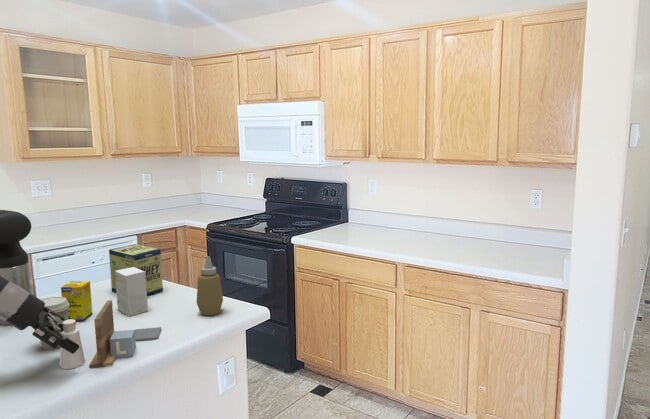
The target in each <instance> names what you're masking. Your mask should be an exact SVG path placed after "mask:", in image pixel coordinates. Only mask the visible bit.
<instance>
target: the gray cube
mask: <svg viewBox="0 0 650 419" xmlns="http://www.w3.org/2000/svg"><path fill="white" fill-rule="evenodd" d="M136 342H137V341H136V339H135V329H126V330H125V329H124V330H114V333H113V335H112V336H111V338H110V348H111V355H115V356H116V358H115V359H117V358H118V359H120V358H129V357H134V355H135V352H136V350H137V343H136Z"/></svg>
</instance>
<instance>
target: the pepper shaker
mask: <svg viewBox="0 0 650 419" xmlns="http://www.w3.org/2000/svg"><path fill="white" fill-rule="evenodd" d="M62 324H63V329H64V331H63V332H61V333H62V334H63V335H64V336H65V337H67V338H68V339H70V340H72V341H73V342H75V343H77V344H78V345H79V349H78V350H77V351H76V352H75V353H73V354H72V353H70V352H68V351H67V350H65V349H63V348H62V347H60V351H59V352H60V355H59V356H60V358H59V359H60V360H59V361H60V362H59V366H60V367H61V368H62V369H63V370H73V369H76V368H79V367H82V365H84V364H85V362H86V359H85V354H84V349H83V344H82V340H81V335H80V330H79V329H78V328H76V326H77V325H76V324H77V323H76V321H75V320H73V319H69V320H65V321H64V322H63V323H62Z"/></svg>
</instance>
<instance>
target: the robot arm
mask: <svg viewBox="0 0 650 419" xmlns="http://www.w3.org/2000/svg"><path fill="white" fill-rule="evenodd" d="M31 230H32V221H31V220H30V219H29V217H28V216H26V215H25V214H23V213H21V212H19V211H13V210H6V209H0V325H2V326H12V327H13V328H15V329H18V330H19V331H24V330H26V329H27V328H28V327H31V328H32V329H33V331H32V336H33V337H36V338H37V339H38V340H39V341H40V340H41V341H43V342H45V343H46V344H48V345H50V346H51V347H52V348H55V349H58V348H57V347H59V346H60V347H59V348H61V347H62V348H63V349H65V350H67V351H68V352H70V353H72V354H73V353H75V352H76V351H77V350H78V349H79V345H78V344H77V343H75V342H73V341H72V340H70V339H68V338H67V337H65V336H64V335H63V334H62V333H61V332H63V331H64V329H63V324H62V323H63V322H64V320H65V319H64V317H61V316H60V315H58V314H56V313H55V312H53V311H52V310H50V309H48V308H47V307H45V302H43V301H42V300H41V298H38V297H37V296H36V295H35V294H33V292H32V291H33V290H32V282H31V272H30V262H29V255H28V253H27V252H26V251H25V250H24V249H23V248H24V247H23V246H22V245H21V243H20V241H22V240H24V239H25V238H27V237H28V235H30V233H31ZM54 338H56V340H55V339H54Z"/></svg>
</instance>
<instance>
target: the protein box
mask: <svg viewBox="0 0 650 419" xmlns="http://www.w3.org/2000/svg"><path fill="white" fill-rule="evenodd" d="M161 250H162V249H160V248H156V247H150V246H146V245H142V244H141V245H140V244H136V243H134V244H130V245H125V246H120V247H114V248H110V249H108V254H109V270H110V272H109V273H110V286H111V287H110V288H111V292H112V293H116V294H117V292H116V278H115V271H116V270H121V269H126V268H131V267H135V268H137V269H140V270H142V271H145V276H146V290H147V298H148V297H150V296H153V295H156V294H159V293H163V292H164V290H163V274H162V273H163V270H162V252H161Z"/></svg>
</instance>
